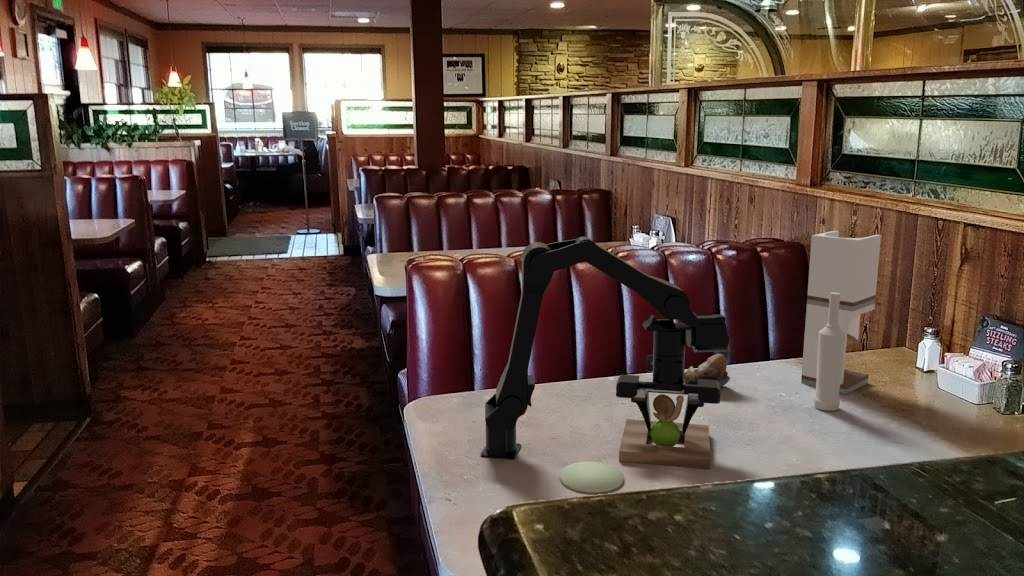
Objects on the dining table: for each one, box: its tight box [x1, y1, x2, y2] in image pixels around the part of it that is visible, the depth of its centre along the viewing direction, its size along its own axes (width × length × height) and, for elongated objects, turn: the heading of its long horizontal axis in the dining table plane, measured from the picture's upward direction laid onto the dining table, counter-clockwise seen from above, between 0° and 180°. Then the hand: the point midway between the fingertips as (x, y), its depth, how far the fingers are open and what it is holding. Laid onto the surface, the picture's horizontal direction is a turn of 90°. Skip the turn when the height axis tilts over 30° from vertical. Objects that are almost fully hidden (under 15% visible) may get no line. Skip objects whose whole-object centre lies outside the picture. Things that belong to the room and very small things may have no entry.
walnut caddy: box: [618, 418, 711, 470], centre depth 147 cm, size 16×16×2 cm
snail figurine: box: [650, 390, 685, 447], centre depth 146 cm, size 5×6×12 cm
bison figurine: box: [684, 348, 731, 388], centre depth 179 cm, size 12×7×10 cm, turn 112°
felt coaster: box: [559, 461, 625, 494], centre depth 135 cm, size 11×11×1 cm
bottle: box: [813, 292, 845, 412], centre depth 165 cm, size 5×5×25 cm
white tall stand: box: [800, 230, 882, 395], centre depth 180 cm, size 11×11×35 cm
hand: (666, 432), depth 147 cm, fingers closed on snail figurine, 6 cm apart
